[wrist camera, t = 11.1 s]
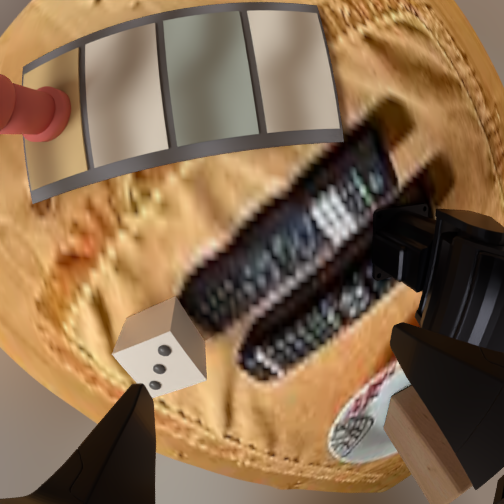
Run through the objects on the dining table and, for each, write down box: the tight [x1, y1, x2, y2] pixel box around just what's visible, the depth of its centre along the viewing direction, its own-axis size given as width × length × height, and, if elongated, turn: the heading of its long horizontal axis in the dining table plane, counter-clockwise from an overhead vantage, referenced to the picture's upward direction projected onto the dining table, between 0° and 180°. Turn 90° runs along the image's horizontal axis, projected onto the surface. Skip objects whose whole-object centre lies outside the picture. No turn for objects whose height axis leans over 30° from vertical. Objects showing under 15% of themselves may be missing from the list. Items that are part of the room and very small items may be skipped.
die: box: [112, 296, 207, 398], centre depth 20 cm, size 5×5×5 cm
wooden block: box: [384, 385, 473, 504], centre depth 24 cm, size 10×10×20 cm
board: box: [22, 2, 344, 204], centre depth 15 cm, size 24×12×1 cm, turn 98°
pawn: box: [0, 74, 71, 142], centre depth 10 cm, size 4×4×9 cm
